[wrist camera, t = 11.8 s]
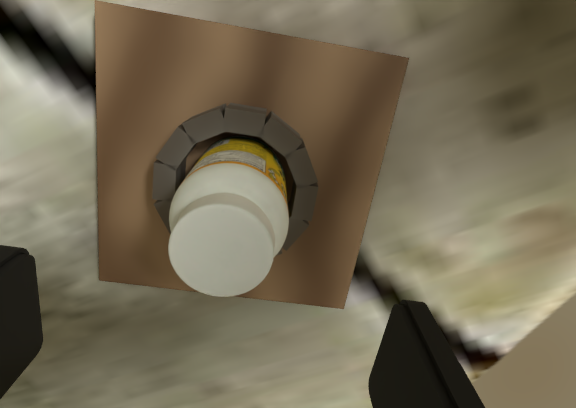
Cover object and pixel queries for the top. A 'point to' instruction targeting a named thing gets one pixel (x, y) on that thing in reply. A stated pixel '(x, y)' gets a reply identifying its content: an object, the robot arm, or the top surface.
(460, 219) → the top surface
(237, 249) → the supplement bottle
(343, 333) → the top surface
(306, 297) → the collar board
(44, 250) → the top surface
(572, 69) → the top surface
